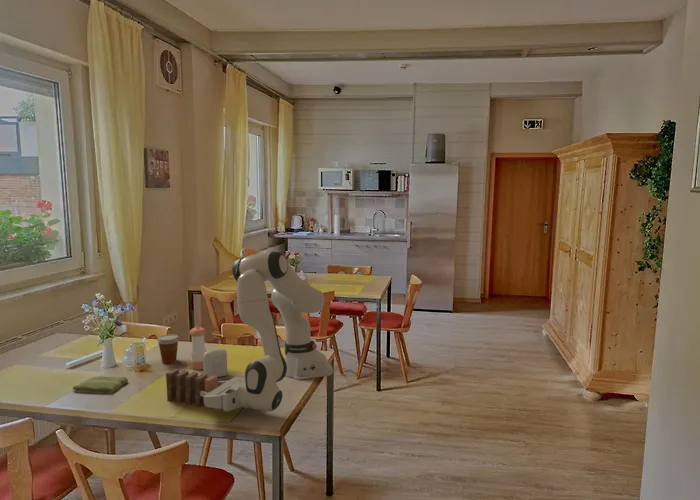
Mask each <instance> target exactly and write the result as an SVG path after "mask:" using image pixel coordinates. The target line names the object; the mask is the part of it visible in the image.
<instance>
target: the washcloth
mask: <svg viewBox="0 0 700 500" xmlns="http://www.w3.org/2000/svg"><path fill="white" fill-rule="evenodd" d="M128 383H129V379H128V378H127V377H126V376H124V375H123V376H92V377H89V378H87V379H85V380H83V381H81V382H79V383H78V384H76V385H73V386H72V390H73V391H74V392H76V393H78V392H79V393H78V394H80V393H81V394H83V393H84V394H113V393H114V392H116V391H117V390H119V388H122V387H123V386H124V385H126V384H128Z"/></svg>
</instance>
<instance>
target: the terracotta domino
mask: <svg viewBox="0 0 700 500" xmlns="http://www.w3.org/2000/svg"><path fill="white" fill-rule="evenodd" d="M218 381H219V380H218V377H217V376H215V375H212V376H211V377H209V378H207V379H205V391H206V393H208V392H211V391H212V390H214V389H216V388H217V387H218ZM205 409H210V410H211V409H212V408H211V407H207V406H205Z"/></svg>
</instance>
